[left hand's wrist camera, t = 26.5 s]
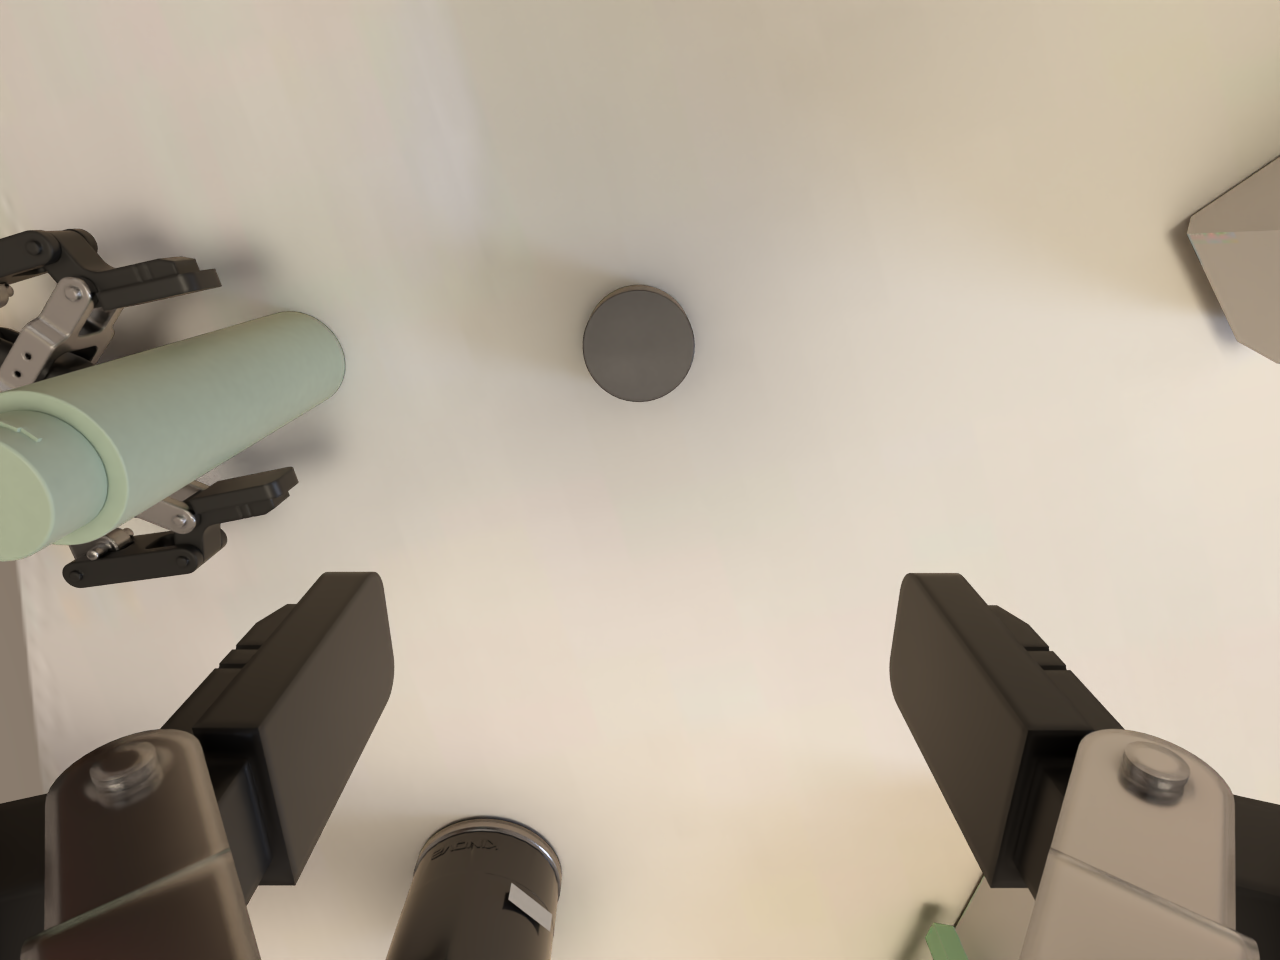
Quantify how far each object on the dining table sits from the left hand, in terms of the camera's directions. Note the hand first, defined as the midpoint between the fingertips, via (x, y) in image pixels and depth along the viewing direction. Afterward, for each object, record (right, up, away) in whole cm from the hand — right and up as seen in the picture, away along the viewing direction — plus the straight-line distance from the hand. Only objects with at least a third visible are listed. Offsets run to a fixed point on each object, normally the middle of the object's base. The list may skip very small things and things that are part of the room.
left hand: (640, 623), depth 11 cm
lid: (0, +8, +22) cm, 24 cm away
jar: (-17, +8, +24) cm, 31 cm away
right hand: (-16, +6, +18) cm, 25 cm away
